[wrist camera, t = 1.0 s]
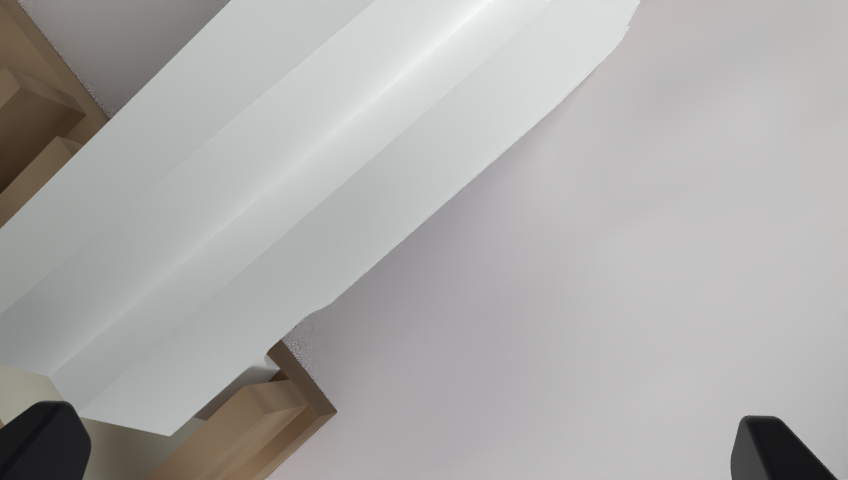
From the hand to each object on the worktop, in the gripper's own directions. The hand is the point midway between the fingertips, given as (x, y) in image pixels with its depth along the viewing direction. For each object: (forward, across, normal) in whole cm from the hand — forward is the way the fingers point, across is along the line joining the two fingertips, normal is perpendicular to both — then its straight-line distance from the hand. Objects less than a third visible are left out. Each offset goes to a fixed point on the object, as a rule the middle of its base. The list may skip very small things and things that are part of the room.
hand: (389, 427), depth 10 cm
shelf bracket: (+16, -1, +4) cm, 16 cm away
